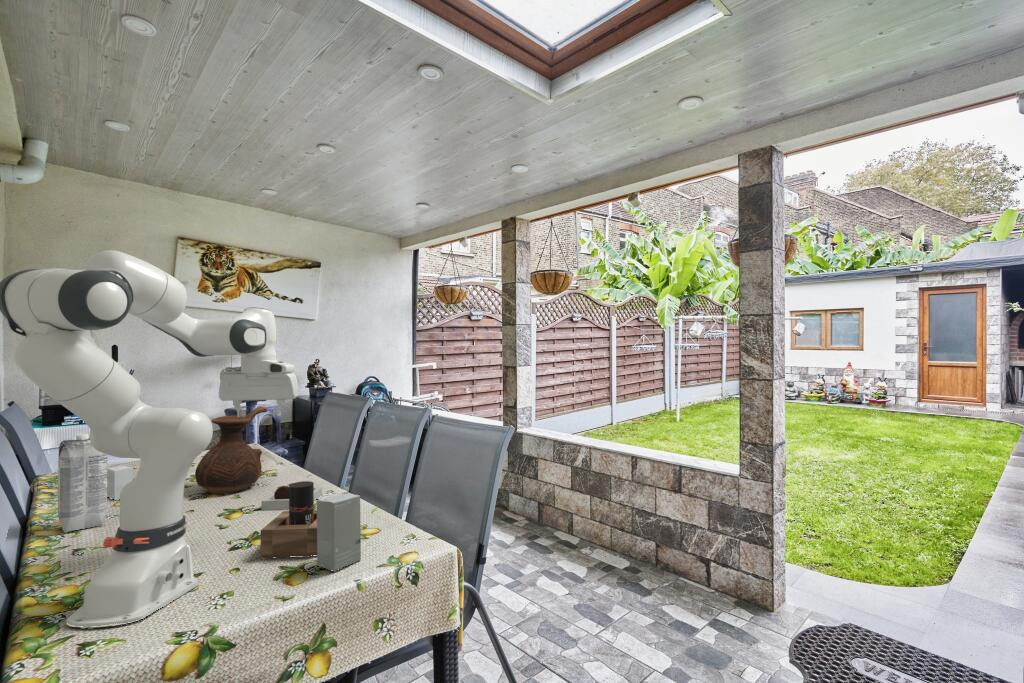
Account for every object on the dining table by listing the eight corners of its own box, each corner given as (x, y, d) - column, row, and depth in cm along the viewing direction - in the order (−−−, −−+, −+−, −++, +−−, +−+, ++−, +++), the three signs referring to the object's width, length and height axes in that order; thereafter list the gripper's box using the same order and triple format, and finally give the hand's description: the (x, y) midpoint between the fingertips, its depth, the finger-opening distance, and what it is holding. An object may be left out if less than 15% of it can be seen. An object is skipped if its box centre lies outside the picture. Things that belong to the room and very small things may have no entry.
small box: (133, 497, 171) (133, 467, 171) (114, 501, 166) (114, 470, 166) (124, 493, 175) (124, 464, 175) (105, 497, 170) (105, 468, 170)
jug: (242, 498, 168) (242, 412, 168) (181, 498, 168) (181, 412, 169) (273, 481, 190) (273, 405, 190) (219, 481, 190) (219, 405, 190)
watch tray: (307, 508, 155) (307, 499, 155) (261, 510, 154) (261, 501, 154) (322, 495, 170) (322, 486, 170) (280, 496, 169) (280, 488, 169)
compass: (302, 501, 164) (302, 479, 164) (292, 508, 156) (292, 486, 156) (279, 501, 164) (279, 479, 164) (267, 508, 156) (267, 486, 156)
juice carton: (108, 525, 142) (108, 434, 143) (59, 535, 134) (60, 439, 135) (103, 518, 148) (104, 431, 149) (57, 528, 140) (57, 435, 141)
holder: (318, 556, 119) (318, 528, 119) (260, 558, 118) (260, 530, 118) (335, 534, 133) (335, 509, 133) (283, 536, 132) (283, 511, 132)
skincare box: (334, 573, 109) (333, 504, 110) (314, 566, 113) (314, 499, 114) (363, 559, 117) (362, 494, 117) (343, 553, 120) (343, 490, 121)
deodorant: (304, 547, 122) (304, 488, 122) (284, 545, 123) (283, 486, 124) (318, 538, 128) (318, 481, 128) (298, 536, 129) (298, 480, 130)
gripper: (213, 367, 129) (213, 418, 129) (291, 366, 131) (292, 417, 130) (226, 366, 136) (226, 415, 135) (300, 365, 137) (300, 414, 137)
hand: (259, 416), depth 133 cm, fingers open, 8 cm apart
